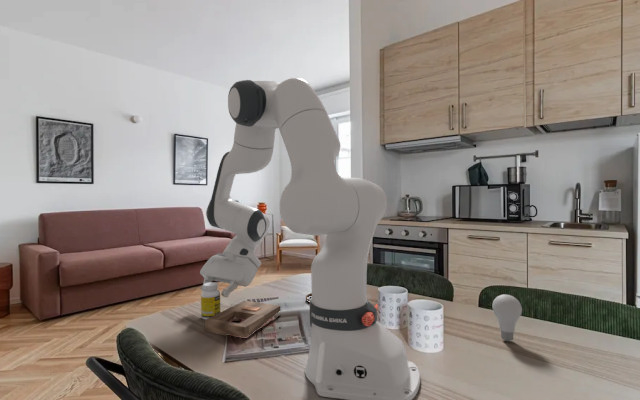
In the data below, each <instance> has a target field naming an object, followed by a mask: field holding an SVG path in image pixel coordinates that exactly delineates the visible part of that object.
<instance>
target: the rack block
mask: <svg viewBox="0 0 640 400" xmlns="http://www.w3.org/2000/svg"><path fill="white" fill-rule="evenodd" d="M279 311H282V310H281V305H278V304H270V303H264V302H257V301H248V300H243V301H241V302H239V303H237V304H234V305H233V306H230V307H229V308H227V309H226V308H225V310H222V311H220V313H218V314H216V315H214V316H212V317H210V318H208V319H204V332H206V333H209V334H210V333H211V334H217V335H222V336H225V337H228V336H227V334H232V335H236V336H241V337H247V336H248V335H250V334H252V333H253V332H254V331H255V330H257V329H258V328H260V327H261V326H262V325H263V324H264V323H266V322H267V321H268V320H269V319H270V318H272V317H273V316H274V315H275V314H276V313H278V312H279ZM234 317H236V318H243V319H246V320H244V321H243V322H229V321H230V320H231V319H233V318H234Z"/></svg>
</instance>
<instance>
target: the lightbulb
mask: <svg viewBox="0 0 640 400" xmlns="http://www.w3.org/2000/svg"><path fill="white" fill-rule="evenodd" d="M491 306H492V311H493V314H494V315H495V317H496V318H497V322H498V324H499V330H500V337H501V338H502V340H504V341H505V342H510V341H511V342H512V341H513V340H514V332H515V331H516V324H517V322H518V320H519V319H520V317H521V316H522V313H523V308H522V304H521V302H520V300H518V299H517V298H516V297H514V296H513V295H510V294H500V295H497V296H496V297H495V298H494V299H493V301H492V305H491Z"/></svg>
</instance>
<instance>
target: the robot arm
mask: <svg viewBox="0 0 640 400" xmlns="http://www.w3.org/2000/svg"><path fill="white" fill-rule="evenodd" d="M319 97H320V96H318V94H317V92H316V91H315V90H314V88H313V87H312V86H311V84H310V83H309V82H307V81H306V80H305V79H303V78H297V77H290V78H288V79H285V80H283V81H282V82H277V81H273V80H272V81H271V80H270V81H269V80H251V79H246V80H239V81H236V82H235V83H233V85H232V86H231V87H230V88H229V91H228V96H227V107H228V112H229V115H230V118H231V119H232V120H233V121H234V123H235V128H234V129H235V130H234V136H233V144H232V147H231V150H230V151H227V152H225V153H224V154H223V156H222V158H221V160H220V163H219V165H218V166H219V167H218V169H217V173H216V177H215V182H214V186H213V190H212V193H211V197H210V201H209V203H208V205H207V208H206V212H205V215H206V219H207V222H208V223H209V225H210V226H211V227H214V228H217V229H221V230H225V231H227V232H231V233H233V234H235V236H234V237H233V238H232V239H230V241H229V242H228V244H227V245H226V247H225V248H224V250H223V251H222V252H218V253H216V254H214V255H212V256H211V257H210V258H208V259H207V261H206V262H205V264H203V266H202V267H201V269H200V271H199V274H200V275H201V276H202V277H203V282H202V283H203V284H202V286H201V287H200V291H201V292H203V291H204V288H203V285H204V284H205V283H210V282H213V281H214V282H221V283H225V284H229V285H228V286H227V287H226V288H223V289H222V291H221V292H220V296H222V297H225V298H228V297H229V295H230V294H231V293H232V292H234V291H235V290H237V288H238V286H239V287H240V286H241V287H244V288H245V287H248V286H250V284H251V283H252V282H253V280H254V278H255V276H256V274H257V272H258V268H260V267H261V265H262V261H261V260H260V259H259V258H258V257H257V256H256V255H255V253H256V250H257V248H258V247H259V246H260V245H261V244H262V243H263V242H262V241H263V240H264V239H265V237H266V234H267V233H268V231H269V228H270V224H271V223H270V222H271V221H270V219H269V217H268V216H267V214H265V213H264V212H262V210H261V209H259V208H256V207H254V206H251V205H247V204H245V203H242V202H239V201H236V200H234V199H233V198H232V197H231V192H232V191H231V190H232V186H233V183H234V180H235V177H236V175H242V174H244V175H245V174H251V173H252V174H253V173H257V172H259V171H262V170H264V169H265V168H267V166H268V165H269V164H270V163H271V161H272V158H273V154H274V153H273V152H274V147H275V146H274V145H275V135H276V131H277V129H279V130H278V131H279V132H280V135H281V137H282V141H283V144H284V146H285V150H286V151H287V152H286V153H287V155H288V158H289V162H290V166H291V167H290V168H291V169H290V170H291V175H290V181H289V182H288V183H287V185H286V186H285V187H284V189H283V191H282V193H281V196H280V200H279V213H280V216H281V219H282V222H283V224H284V225H285V226H286V227H287V228H288V229H289V231H290V232H293V233H295V234H300V235H306V236H307V235H309V236H323V235H326V238H325V241H324V243H323V246H322V247H321V249H320V251H318V253H317V254H316V255H315V257H314V258H313V260H312V263H311V265H310V275H311V277H310V278H311V280H310V281H311V282H310V283H311V287H310V288H311V293H312V298H311V299H310V300H311V301H310V303H309V326H310V328H311V332H310V344H309V352H308V355H307V361H306V365H305V367H304V373H305V376H306V379H307V380H308V381H309V382H311V384H312V385H313V386H314V387H315V391H316V393H317V395H318V396H320V397H324V398H330V399H340V400H413V399H414V398H415V397H416V395H417V394H418V392H419V389H420V385H421V373H420V370H419V368H418V366H417V365H416V364H415V362H412V361H410V360H408V357H407V356H408V355H407V350H406V348H405V345H404V343H403V341H402V339H400V338H399V337H398V336H397V335H396V334H394V333H392V331H390V330H389V329H388V328H387V327H385V326H384V325H383V324H382V323H380V322H379V321H378V310H379V309H378V307H379V305H378V304H377V303H376V304H375V305H373V304H372V303H371V302H370V301H369V299H368V298H367V296H368V295H367V290H368V289H367V287H368V286H367V284H368V283H367V277H368V276H367V275H368V274H367V273H368V272H367V270H368V259H369V254H370V248H371V245H372V242H373V238H374V235H375V231H376V228H377V226H378V224H379V222H380V221H381V220H382V219H383V218H384V216H385V214H386V212H387V211H386V210H387V207H388V202H387V201H388V199H387V195H386V193H385V191H384V189H383V188H382V187H381V186H380V185H379V184H377V183H375V182H372V181H370V180H368V179H365V178H361V177H341V176H340V175H339V173H338V172H337V169H336V165H335V160H336V159H337V157H338V156H339V153H340V151H341V142H340V141H341V140H340V138H339V137H338V134H337V133H336V130H335V128H334V126H333V123H332V121H331V119H330V117H329V114H328V112H327V109H326V107H325V106H324V104H323V102H322V100H321V99H320V98H319Z"/></svg>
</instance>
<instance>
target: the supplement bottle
mask: <svg viewBox="0 0 640 400" xmlns="http://www.w3.org/2000/svg"><path fill="white" fill-rule="evenodd" d="M202 286H203V288H204V291H201V294H200V305H201V308H200V309H201V310H200V313H201V315H200V316H201V318H202V320H206V319H208V318H210V317H212V316H214V315H216V314H218V313H220V312H221V292H220V290H219V289H218V288H219V286H218V283H217V281H214V282H213V281H212V282H210V283H205V284H204V285H203V284H202Z"/></svg>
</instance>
